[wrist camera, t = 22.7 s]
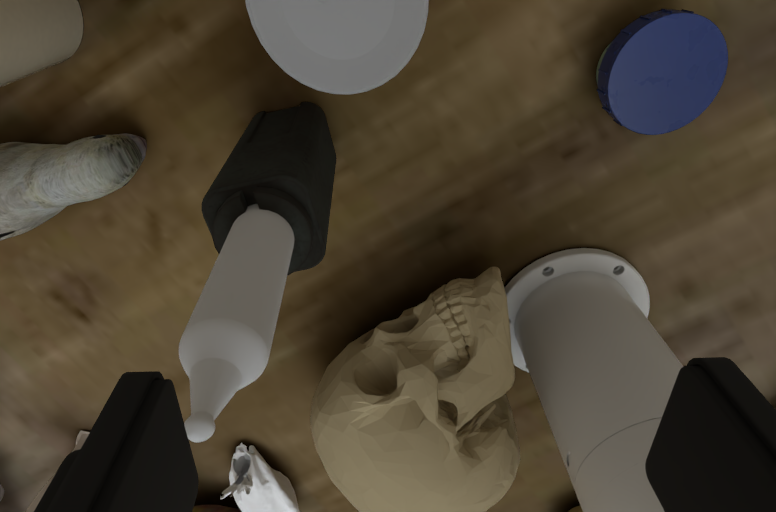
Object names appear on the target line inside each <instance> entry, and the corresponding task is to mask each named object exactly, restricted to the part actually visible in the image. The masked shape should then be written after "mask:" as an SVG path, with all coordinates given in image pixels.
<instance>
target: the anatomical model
mask: <svg viewBox="0 0 776 512" xmlns="http://www.w3.org/2000/svg"><path fill="white" fill-rule="evenodd" d="M192 512H242V511H241V510H239V509H236V508H230V507H225V506H221V505H197V506H194V507H193V510H192Z"/></svg>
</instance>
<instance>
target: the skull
mask: <svg viewBox="0 0 776 512" xmlns="http://www.w3.org/2000/svg"><path fill="white" fill-rule="evenodd" d="M468 346H469V347H468ZM469 354H470V356H469ZM514 379H515V368H514V363H513V357H512V352H511V336H510V323H509V314H508V305H507V296H506V292H505V288H504V285H503V281H502V279H501V272H500V269H499V268H497V267H490V268H488V269H487V270H486V271H484V272H483V273H482V274H480V275H479V276H478V277H476V278H474V279H463V278H458V279H454V280H451V281H450V282H449V283H447V285H443V286H442V287H440V288H439V289H437V290H436V291H435V292H432V293H431V294H430V295H429V297H428V298H427V300H426V301H424V302H423V303H421V304H419V305H418V306H416V307H413V308H410V309H407V310H404V311H403V313H402V314H401V316H400V317H399V318H398V319H395V320H391V321H385V322H382V323H380V324H379V325H378V326H376V328H375V329H372V330H370V331H369V332H367V333H366V334H364V335H362V336H361V337H359V338H358V339H356V340H354V341H353V342H351V343H349V344H348V345H347V346H346V347H345V348H344V350H343V351H342V352H341V353H340V354H339V355H338V356H337V357H336V358H335V359H334V360H333V361H332V362H331V363H330V364H329V365H328V366H327V368H326V370H325V372H324V375H323V377H322V379H321V381H320V383H319V385H318V387H317V389H316V391H315V394H314V397H313V401H312V406H311V416H310V424H311V432H312V436H313V440H314V444H315V448H316V450H317V452H318V454H319V457H320V459H321V461H322V463H323V465H324V467H325V469H326V471H327V473H328V475H329V477H330V479H331V480H332V482H333V483H334V484H335V486H336V487H337V488H338V489H339V490H340V491H341V492H342V494H343V495H344V496H345V497H346V498H347V499H348V500H349V502H350V503H351V504H352V505H353V506H354V507H355V508H356V509H357V510H358V511H359V512H486V511H487V510H488V509H489V508H490V507H492V506H493V505H494V504H496V503H497V502H499V501H500V500H501V499H502V498H503V496H504V495H505V494H506V492H507V491H508V490H509V488H510V487H511V485H512V483H513V481H514V479H515V476H516V472H517V468H518V465H519V462H520V460H521V459H520V446H519V440H518V436H517V429H516V426H515V422H514V420H513V415H512V410H511V407H510V404H509V401H508V398H507V396H506V392H507V391H508V390H509V389H510V388H511V387H512V386H513V384H514Z"/></svg>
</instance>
